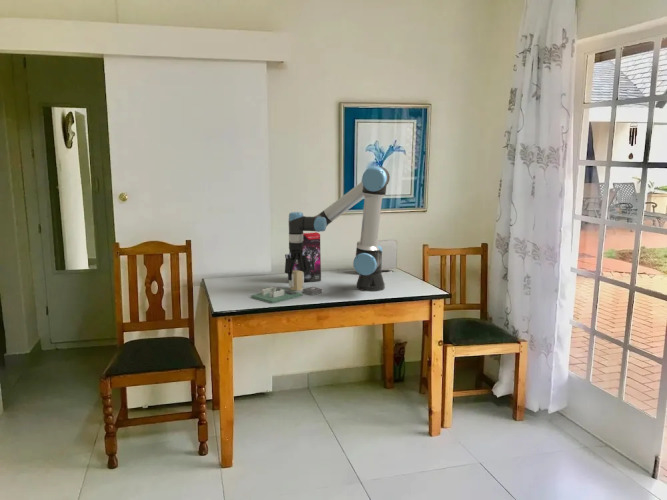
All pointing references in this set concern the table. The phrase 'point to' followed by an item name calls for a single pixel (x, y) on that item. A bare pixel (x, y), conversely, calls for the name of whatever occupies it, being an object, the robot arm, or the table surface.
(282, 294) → the board
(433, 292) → the table surface
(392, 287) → the table surface
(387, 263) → the network device
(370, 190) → the robot arm
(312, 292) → the fan block
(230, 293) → the table surface
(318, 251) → the graphics card box
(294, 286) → the plug
